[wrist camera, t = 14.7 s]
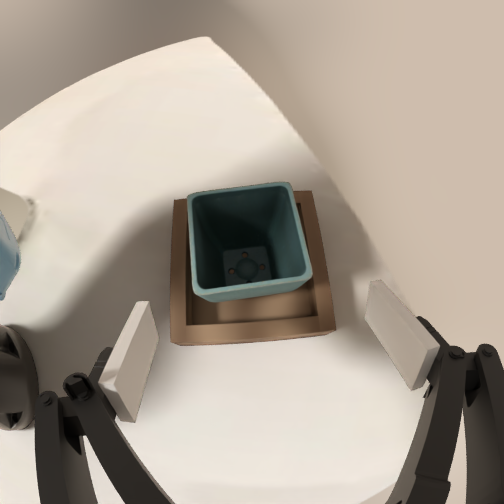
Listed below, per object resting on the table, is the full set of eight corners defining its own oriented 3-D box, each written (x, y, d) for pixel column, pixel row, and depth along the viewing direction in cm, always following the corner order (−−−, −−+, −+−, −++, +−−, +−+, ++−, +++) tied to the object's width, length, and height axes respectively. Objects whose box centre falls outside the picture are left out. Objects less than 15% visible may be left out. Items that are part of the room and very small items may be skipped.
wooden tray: (181, 345, 28) (170, 342, 24) (181, 218, 34) (174, 199, 30) (325, 335, 28) (336, 329, 25) (305, 209, 34) (311, 190, 30)
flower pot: (297, 305, 29) (315, 277, 20) (210, 317, 28) (192, 296, 20) (281, 228, 32) (290, 179, 24) (202, 239, 31) (186, 193, 23)
